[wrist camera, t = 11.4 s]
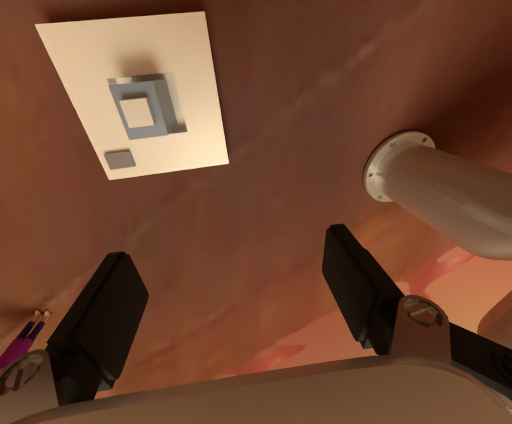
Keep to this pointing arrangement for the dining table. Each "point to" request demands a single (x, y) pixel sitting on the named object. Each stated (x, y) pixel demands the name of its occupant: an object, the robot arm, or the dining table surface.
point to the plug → (144, 108)
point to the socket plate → (140, 70)
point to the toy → (23, 340)
